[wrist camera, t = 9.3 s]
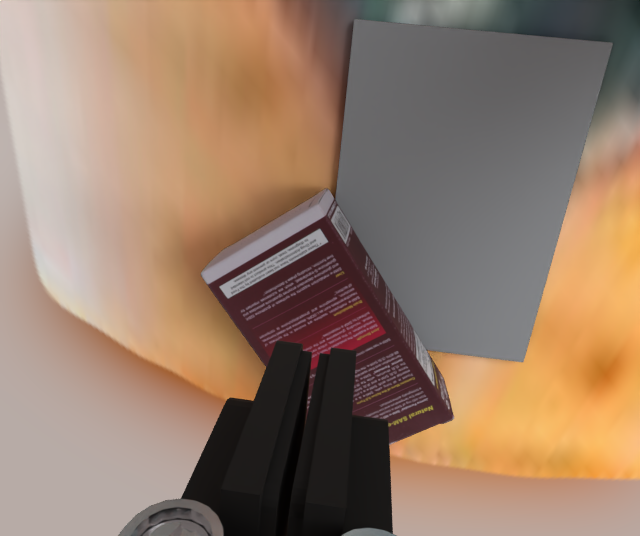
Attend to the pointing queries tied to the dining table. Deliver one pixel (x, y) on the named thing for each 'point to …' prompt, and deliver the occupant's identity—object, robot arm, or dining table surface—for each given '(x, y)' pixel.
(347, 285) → the supplement box
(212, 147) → the dining table surface
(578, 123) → the mat
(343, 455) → the robot arm
